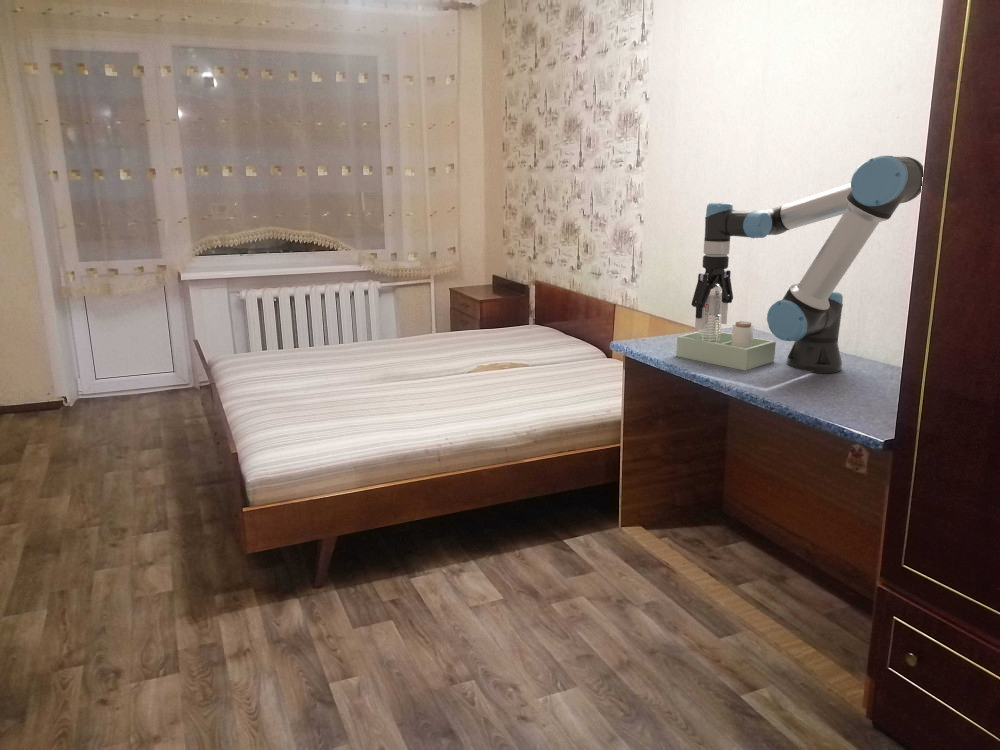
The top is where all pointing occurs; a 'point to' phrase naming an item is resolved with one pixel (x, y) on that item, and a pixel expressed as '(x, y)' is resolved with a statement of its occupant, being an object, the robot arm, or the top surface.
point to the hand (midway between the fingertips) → (710, 326)
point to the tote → (726, 351)
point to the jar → (742, 334)
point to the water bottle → (712, 316)
